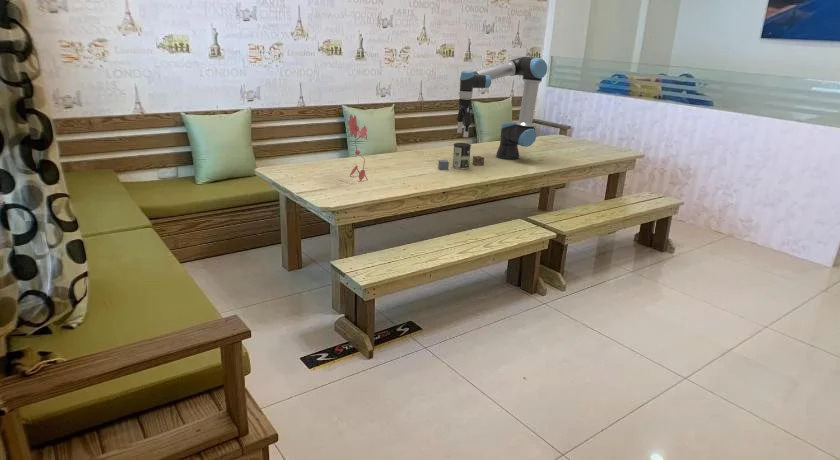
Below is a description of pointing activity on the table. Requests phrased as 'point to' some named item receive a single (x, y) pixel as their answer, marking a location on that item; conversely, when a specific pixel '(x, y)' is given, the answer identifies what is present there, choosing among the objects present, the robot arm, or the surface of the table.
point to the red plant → (353, 131)
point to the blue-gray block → (443, 165)
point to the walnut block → (478, 160)
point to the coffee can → (461, 155)
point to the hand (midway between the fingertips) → (462, 134)
